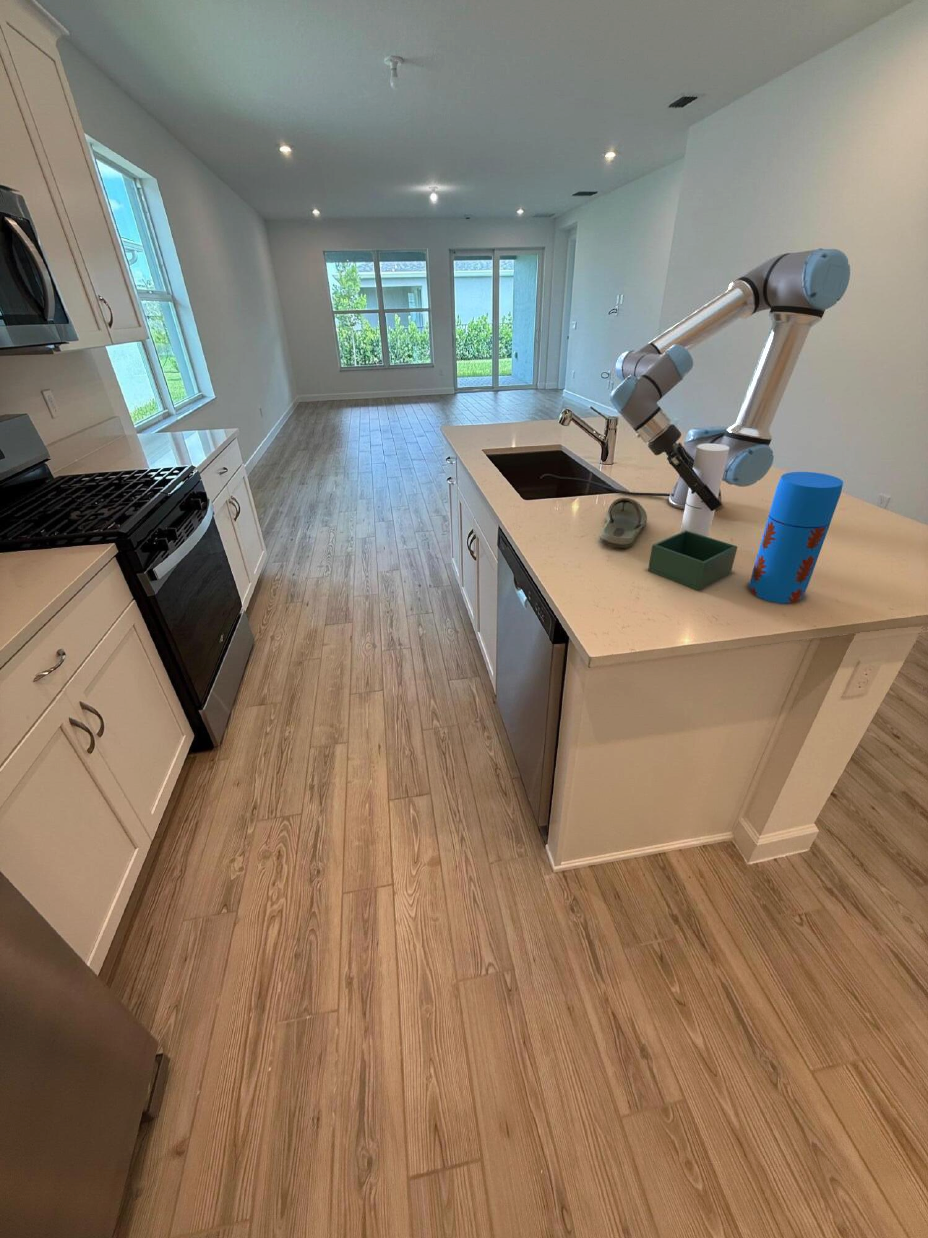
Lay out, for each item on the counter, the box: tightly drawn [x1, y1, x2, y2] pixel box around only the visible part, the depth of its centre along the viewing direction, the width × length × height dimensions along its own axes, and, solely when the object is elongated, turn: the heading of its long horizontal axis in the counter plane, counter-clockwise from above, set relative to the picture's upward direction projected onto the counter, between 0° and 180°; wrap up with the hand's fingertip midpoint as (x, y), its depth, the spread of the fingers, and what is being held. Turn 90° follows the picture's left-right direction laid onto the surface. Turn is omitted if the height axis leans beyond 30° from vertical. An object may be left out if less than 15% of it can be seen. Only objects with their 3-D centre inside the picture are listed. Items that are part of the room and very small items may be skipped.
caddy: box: [647, 530, 739, 591], centre depth 120 cm, size 13×13×7 cm
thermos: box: [748, 471, 844, 604], centre depth 105 cm, size 11×11×25 cm
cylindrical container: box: [679, 444, 729, 538], centre depth 129 cm, size 7×7×25 cm
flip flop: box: [598, 497, 648, 549], centre depth 142 cm, size 29×12×8 cm, turn 155°
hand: (716, 502), depth 128 cm, fingers closed on cylindrical container, 7 cm apart
